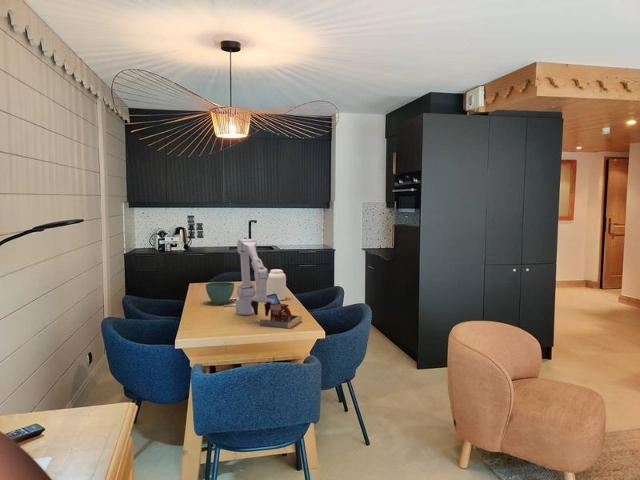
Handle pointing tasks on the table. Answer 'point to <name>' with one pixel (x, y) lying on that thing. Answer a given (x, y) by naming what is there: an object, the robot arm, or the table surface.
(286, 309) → the toy fire truck
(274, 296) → the handheld game console
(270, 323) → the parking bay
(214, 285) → the plant pot
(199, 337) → the table surface
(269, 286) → the white ceramic jar
